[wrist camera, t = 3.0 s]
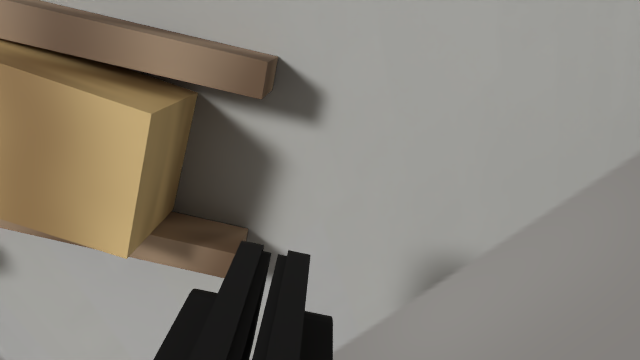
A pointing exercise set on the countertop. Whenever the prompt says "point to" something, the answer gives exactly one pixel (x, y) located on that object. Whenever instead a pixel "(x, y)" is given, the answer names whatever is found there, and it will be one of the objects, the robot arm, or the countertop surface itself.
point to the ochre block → (88, 147)
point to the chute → (160, 59)
